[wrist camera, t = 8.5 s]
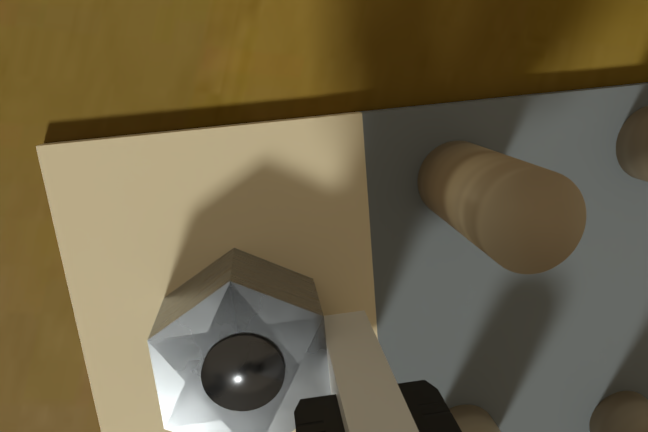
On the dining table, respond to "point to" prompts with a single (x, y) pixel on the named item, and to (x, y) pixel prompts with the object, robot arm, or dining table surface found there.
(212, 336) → the nut
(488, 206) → the pegs
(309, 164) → the mat
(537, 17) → the dining table surface
